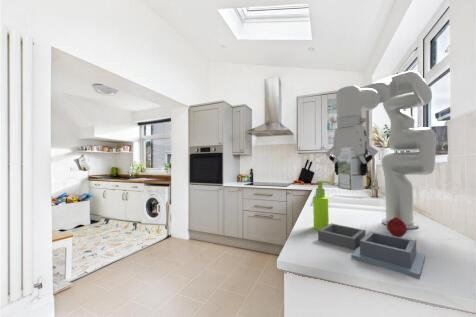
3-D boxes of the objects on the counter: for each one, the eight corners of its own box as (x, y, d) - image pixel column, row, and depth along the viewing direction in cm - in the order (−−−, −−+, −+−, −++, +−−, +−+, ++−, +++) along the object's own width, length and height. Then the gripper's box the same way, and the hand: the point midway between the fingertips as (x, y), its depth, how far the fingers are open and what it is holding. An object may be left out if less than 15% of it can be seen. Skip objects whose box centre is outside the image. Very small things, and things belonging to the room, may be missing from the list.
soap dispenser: (332, 231, 83) (330, 181, 83) (313, 229, 85) (312, 181, 85) (330, 227, 88) (329, 180, 89) (313, 225, 91) (312, 180, 91)
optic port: (366, 243, 70) (365, 228, 70) (425, 257, 59) (424, 240, 60) (351, 258, 60) (350, 240, 60) (419, 278, 49) (419, 257, 49)
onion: (410, 241, 72) (410, 218, 72) (392, 240, 73) (391, 217, 73) (401, 235, 77) (400, 214, 77) (384, 234, 78) (383, 213, 79)
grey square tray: (331, 232, 82) (331, 223, 82) (365, 239, 73) (365, 230, 73) (318, 240, 74) (318, 230, 74) (354, 250, 65) (354, 239, 65)
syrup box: (364, 189, 69) (363, 146, 69) (351, 190, 67) (349, 146, 67) (350, 187, 74) (349, 147, 74) (337, 188, 72) (336, 147, 72)
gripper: (382, 121, 67) (383, 175, 67) (328, 128, 80) (329, 173, 79) (375, 118, 62) (377, 176, 61) (319, 126, 75) (320, 174, 74)
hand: (350, 174), depth 70 cm, fingers closed on syrup box, 7 cm apart
